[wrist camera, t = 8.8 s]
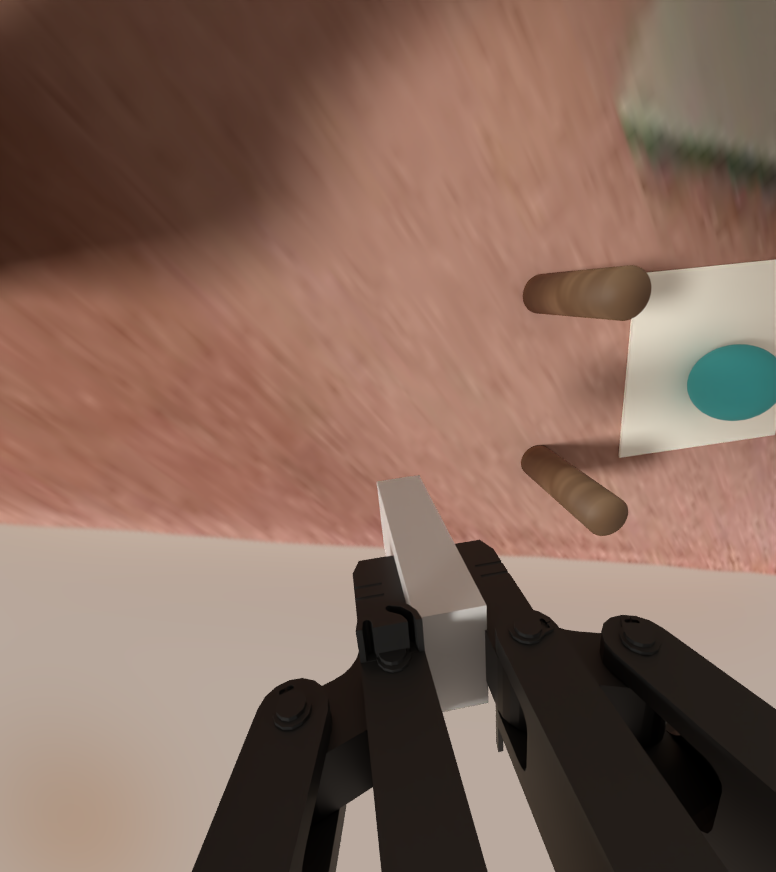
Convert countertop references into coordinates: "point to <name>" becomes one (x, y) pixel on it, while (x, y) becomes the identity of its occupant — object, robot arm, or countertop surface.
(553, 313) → the post inner
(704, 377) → the ball
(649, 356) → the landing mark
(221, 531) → the countertop surface
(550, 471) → the post outer
